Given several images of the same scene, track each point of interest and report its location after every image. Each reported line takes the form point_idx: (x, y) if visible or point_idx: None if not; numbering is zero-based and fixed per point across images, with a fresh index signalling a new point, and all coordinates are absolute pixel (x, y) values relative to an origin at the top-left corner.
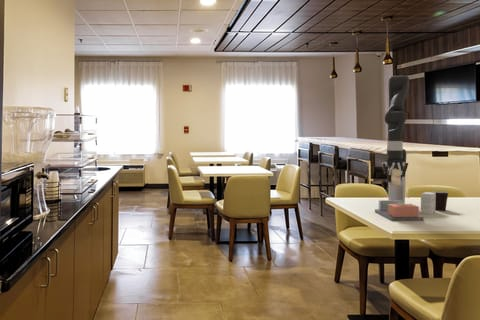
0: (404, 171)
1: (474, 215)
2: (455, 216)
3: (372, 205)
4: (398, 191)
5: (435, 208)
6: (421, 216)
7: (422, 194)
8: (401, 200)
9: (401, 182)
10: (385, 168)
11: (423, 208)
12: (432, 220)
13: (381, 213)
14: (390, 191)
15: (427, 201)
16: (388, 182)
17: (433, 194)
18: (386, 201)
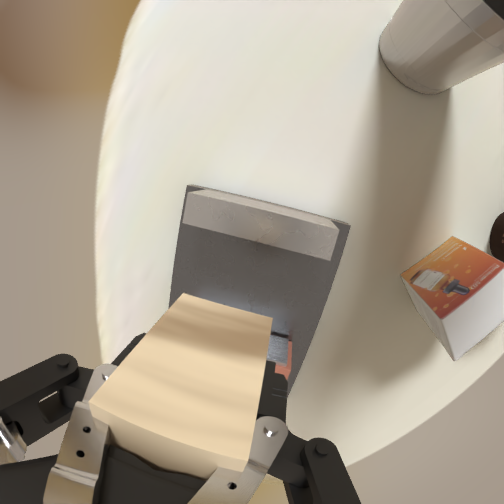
0: (297, 492)
1: (495, 359)
2: (444, 366)
3: (294, 13)
4: (446, 60)
5: (494, 244)
6: (288, 393)
7: (441, 324)
8: (328, 252)
9: (497, 50)
10: (36, 429)
11: (412, 295)
12: (314, 403)
13: (173, 277)
14: (406, 16)
15: (432, 327)
16: (177, 300)
17: (483, 336)
18: (222, 232)
